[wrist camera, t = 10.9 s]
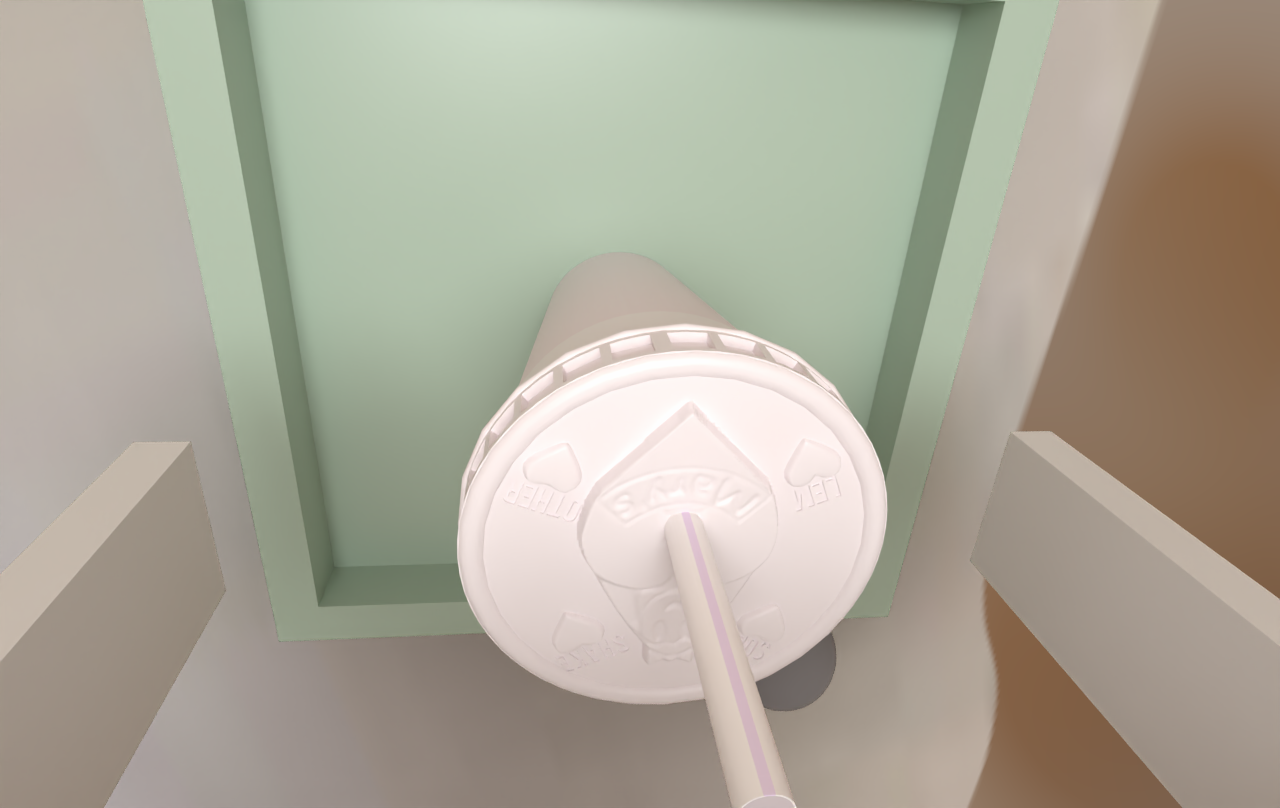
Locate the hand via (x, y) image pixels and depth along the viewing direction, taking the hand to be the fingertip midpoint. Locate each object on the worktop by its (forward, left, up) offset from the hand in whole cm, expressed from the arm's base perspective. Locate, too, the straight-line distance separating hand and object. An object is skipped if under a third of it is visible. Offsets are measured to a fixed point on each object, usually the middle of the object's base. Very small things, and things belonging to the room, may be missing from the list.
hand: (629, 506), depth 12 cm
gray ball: (+6, -11, -9) cm, 15 cm away
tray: (0, 0, -9) cm, 9 cm away
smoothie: (+1, 0, -8) cm, 8 cm away
